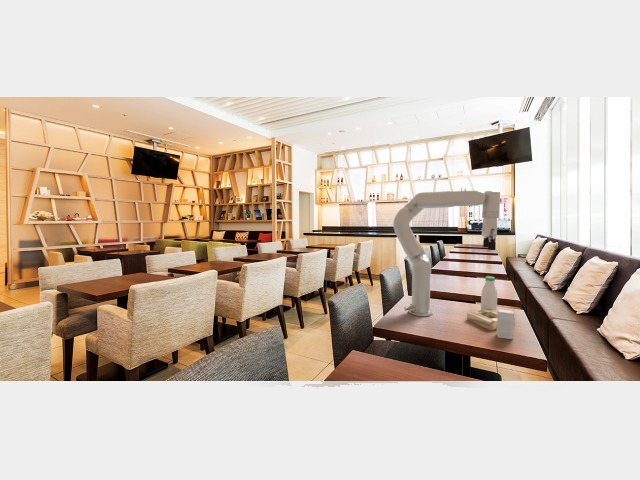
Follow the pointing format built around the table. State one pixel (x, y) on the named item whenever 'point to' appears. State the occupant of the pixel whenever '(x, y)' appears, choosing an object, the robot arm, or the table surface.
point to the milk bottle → (489, 294)
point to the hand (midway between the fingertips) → (489, 248)
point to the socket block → (484, 318)
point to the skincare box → (505, 324)
